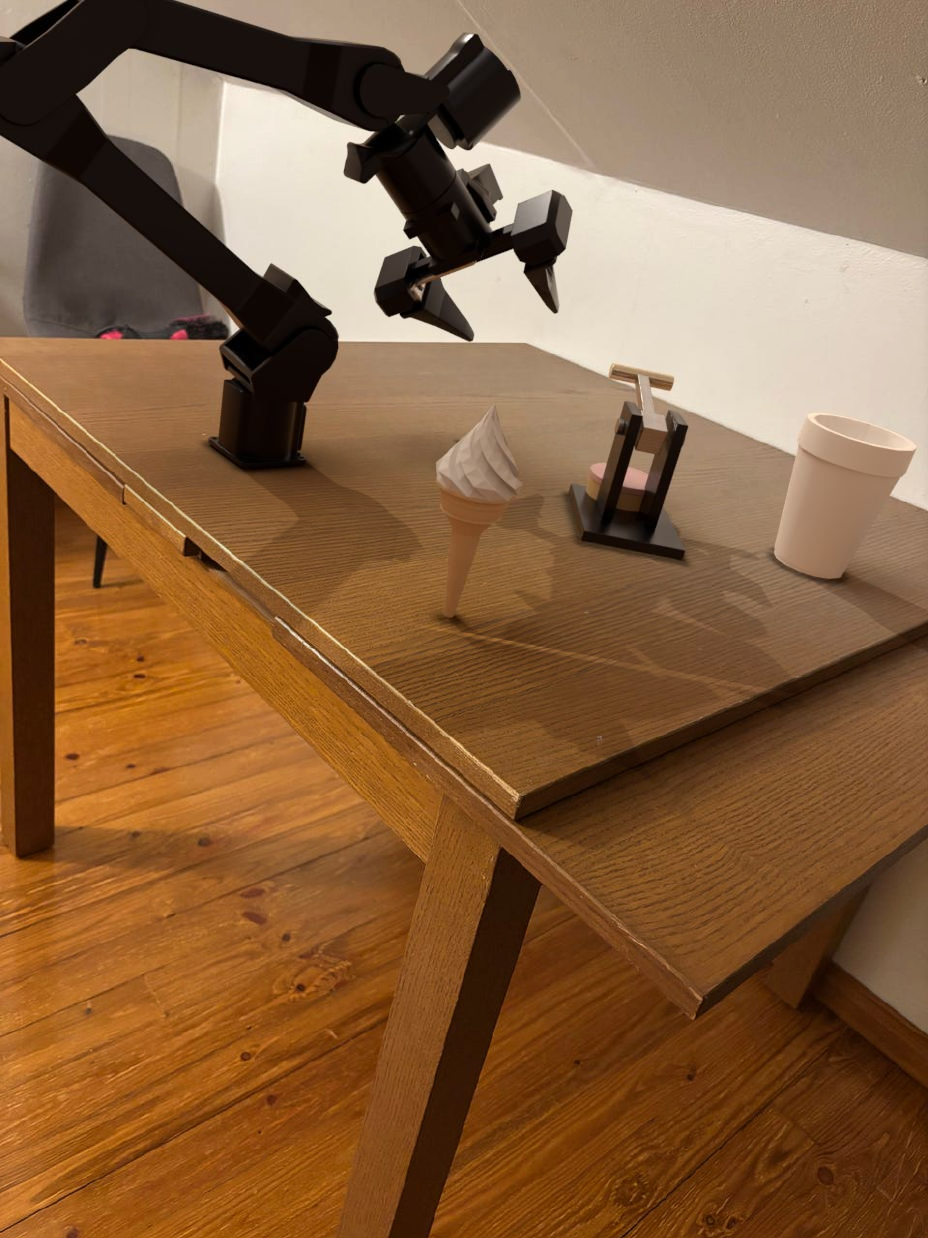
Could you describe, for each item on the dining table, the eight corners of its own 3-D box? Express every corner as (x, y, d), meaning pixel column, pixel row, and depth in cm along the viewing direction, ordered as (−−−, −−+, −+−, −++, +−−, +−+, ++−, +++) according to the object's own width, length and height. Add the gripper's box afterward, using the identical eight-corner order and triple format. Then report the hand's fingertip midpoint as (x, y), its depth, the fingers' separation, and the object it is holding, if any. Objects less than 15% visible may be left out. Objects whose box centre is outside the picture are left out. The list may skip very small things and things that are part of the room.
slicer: (567, 494, 95) (597, 384, 90) (657, 512, 95) (692, 404, 91) (580, 543, 84) (615, 421, 79) (681, 563, 85) (721, 444, 80)
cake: (618, 527, 90) (629, 492, 88) (567, 498, 94) (576, 465, 92) (662, 519, 94) (673, 486, 92) (611, 493, 98) (621, 460, 96)
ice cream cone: (459, 648, 63) (512, 424, 56) (389, 614, 65) (432, 394, 59) (502, 622, 68) (555, 411, 61) (435, 591, 70) (479, 384, 63)
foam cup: (752, 565, 88) (804, 426, 82) (759, 534, 96) (808, 405, 90) (859, 599, 86) (920, 459, 80) (857, 565, 94) (913, 435, 88)
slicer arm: (606, 377, 94) (614, 355, 93) (666, 390, 95) (675, 368, 93) (613, 446, 85) (622, 422, 84) (680, 459, 86) (689, 436, 84)
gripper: (538, 88, 82) (612, 236, 93) (360, 171, 91) (446, 296, 102) (519, 170, 76) (600, 318, 87) (331, 249, 86) (426, 373, 96)
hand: (513, 324), depth 93 cm, fingers open, 9 cm apart
